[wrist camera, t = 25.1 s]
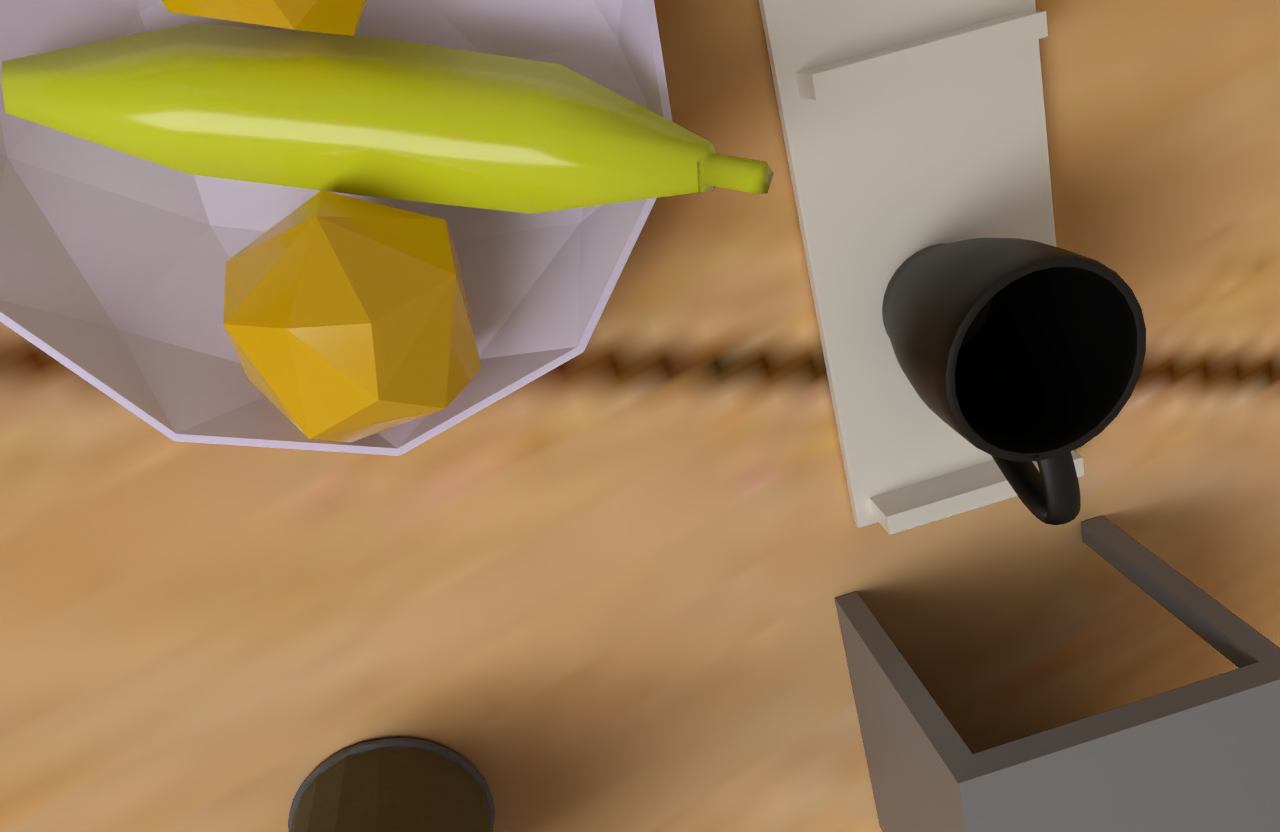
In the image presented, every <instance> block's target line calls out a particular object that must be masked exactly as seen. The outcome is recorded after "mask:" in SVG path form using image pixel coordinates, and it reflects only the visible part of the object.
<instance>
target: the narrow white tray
mask: <svg viewBox="0 0 1280 832" xmlns="http://www.w3.org/2000/svg"><path fill="white" fill-rule="evenodd" d="M759 6H760V11H761V16H762V22H763V27H764V33H765V38H766V44H767V49H768V55H769V60H770V65H771V71H772V76H773V82H774V87H775V93H776V98H777V104H778V109H779V114H780V120H781V125H782V131H783V136H784V142H785V147H786V153H787V158H788V163H789V169H790V174H791V180H792V185H793V191H794V196H795V202H796V207H797V212H798V218H799V223H800V229H801V234H802V240H803V245H804V251H805V256H806V261H807V267H808V272H809V278H810V283H811V289H812V294H813V300H814V305H815V311H816V316H817V321H818V327H819V332H820V338H821V343H822V349H823V354H824V360H825V365H826V370H827V376H828V381H829V387H830V392H831V398H832V403H833V409H834V414H835V419H836V425H837V430H838V436H839V441H840V447H841V452H842V458H843V463H844V468H845V474H846V479H847V485H848V490H849V496H850V501H851V507H852V512H853V517H854V523H855V524H856V525H857V527H858V528H861V527H864V526H867V525H871V524H874V523H877V522H879V523H880V524H881V525H882V527H883V528H884V529H885V530H886V531H887V532H888V534H889V535H891V534H894V533H898V532H901V531H904V530H908V529H911V528H914V527H917V526H921V525H924V524H927V523H930V522H934V521H937V520H940V519H944V518H947V517H950V516H953V515H957V514H960V513H963V512H966V511H970V510H973V509H976V508H980V507H983V506H986V505H989V504H993V503H996V502H999V501H1002V500H1006V499H1009V498H1012V497H1016V496H1018V495H1017V494H1016V492H1015V491H1014V490H1013V488H1012V487H1011V485H1010V484H1009V482H1008V481H1007V479H1006V478H1005V476H1004V475H1003V473H1002V472H1001V470H1000V469H999V467H998V465H997V464H996V462H995V461H994V459H993V458H992V456H991V455H990V454H988V453H986V452H984V451H982V450H980V449H978V448H976V447H975V446H974V445H972V444H971V443H970V442H968V441H967V440H966V439H965V438H963V437H962V436H961V435H960V434H958V433H957V432H956V431H955V430H953V429H952V428H951V427H950V426H949V425H948V424H946V423H945V422H944V421H943V420H942V419H941V418H939V417H938V416H937V415H936V414H935V413H934V412H933V411H932V410H931V409H929V408H928V406H927V405H926V404H925V403H924V402H923V400H922V399H921V398H920V397H919V395H918V394H917V392H916V391H915V389H914V388H913V386H912V385H911V383H910V382H909V380H908V378H907V377H906V375H905V374H904V372H903V371H902V369H901V367H900V365H899V363H898V361H897V358H896V355H895V353H894V350H893V347H892V344H891V341H890V338H889V336H888V335H887V333H886V330H885V327H884V324H883V316H882V305H883V298H884V294H885V291H886V288H887V286H888V283H889V281H890V280H891V278H892V276H893V275H894V273H895V271H896V270H897V269H898V268H899V267H900V266H901V265H902V263H903V262H904V261H905V260H906V259H908V258H909V257H911V256H912V255H913V254H915V253H916V252H918V251H920V250H922V249H924V248H927V247H929V246H933V245H938V244H948V243H953V242H957V241H962V240H968V239H974V238H1018V239H1026V240H1033V241H1037V242H1041V243H1044V244H1048V245H1051V246H1055V247H1056V236H1055V224H1054V213H1053V201H1052V189H1051V178H1050V166H1049V155H1048V143H1047V131H1046V120H1045V108H1044V96H1043V85H1042V73H1041V61H1040V50H1039V39H1041V38H1045V37H1048V30H1047V18H1046V11H1036V3H1035V0H759ZM1071 454H1072V457H1073V461H1074V465H1075V469H1076V473H1077V478H1078V477H1081V476H1084V467H1083V457H1081V456H1080V455H1079V454H1077V453H1076V452H1074V450H1072V451H1071ZM1032 462H1033V463H1034V465H1035V466H1036V467H1037V469H1038V470H1039V468H1038V464H1037V461H1032ZM1039 472H1040V471H1039Z"/></svg>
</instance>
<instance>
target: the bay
mask: <svg viewBox="0 0 1280 832" xmlns="http://www.w3.org/2000/svg"><path fill="white" fill-rule="evenodd" d="M1081 526H1082V538H1083V542H1084V543H1085V544H1087V545H1088V546H1089V547H1090V548H1092V549H1093V550H1094V551H1095V552H1097V553H1098V554H1099V555H1100V556H1102V557H1103V558H1104V559H1105V560H1106V561H1108V562H1109V563H1110V564H1111V565H1113V566H1114V567H1115V568H1116V569H1118V570H1119V571H1120V572H1121V573H1122V574H1124V575H1125V576H1126V577H1127V578H1129V579H1130V580H1131V581H1132V582H1134V583H1135V584H1136V585H1137V586H1139V587H1140V588H1141V589H1142V590H1143V591H1145V592H1146V593H1147V594H1148V595H1150V596H1151V597H1152V598H1153V599H1155V600H1156V601H1157V602H1158V603H1160V604H1161V605H1162V606H1163V607H1164V608H1166V609H1167V610H1168V611H1169V612H1171V613H1172V614H1173V615H1174V616H1176V617H1177V618H1178V619H1179V620H1180V621H1182V622H1183V623H1184V624H1185V625H1187V626H1188V627H1189V628H1190V629H1192V630H1193V631H1194V632H1195V633H1197V634H1198V635H1199V636H1200V637H1201V638H1203V639H1204V640H1205V641H1206V642H1208V643H1209V644H1210V645H1211V646H1213V647H1214V648H1215V649H1216V650H1217V651H1219V652H1220V653H1221V654H1222V655H1224V656H1225V657H1226V658H1227V659H1229V660H1230V661H1231V662H1232V663H1234V664H1235V665H1236V666H1237V667H1238V668H1239V669H1236V670H1233V671H1230V672H1226V673H1223V674H1220V675H1217V676H1214V677H1211V678H1208V679H1205V680H1202V681H1199V682H1195V683H1192V684H1189V685H1186V686H1183V687H1180V688H1177V689H1174V690H1171V691H1168V692H1164V693H1161V694H1158V695H1155V696H1152V697H1149V698H1146V699H1143V700H1140V701H1136V702H1133V703H1130V704H1127V705H1124V706H1121V707H1118V708H1115V709H1112V710H1109V711H1105V712H1102V713H1099V714H1096V715H1093V716H1090V717H1087V718H1084V719H1081V720H1078V721H1074V722H1071V723H1068V724H1065V725H1062V726H1059V727H1056V728H1053V729H1050V730H1046V731H1043V732H1040V733H1037V734H1034V735H1031V736H1028V737H1025V738H1022V739H1019V740H1015V741H1012V742H1009V743H1006V744H1003V745H1000V746H997V747H994V748H991V749H988V750H984V751H981V752H978V753H975V754H972V753H971V751H970V750H969V748H968V747H967V746H966V744H965V743H964V741H963V740H962V739H961V737H960V736H959V734H958V733H957V732H956V730H955V729H954V727H953V726H952V725H951V723H950V722H949V720H948V719H947V718H946V716H945V715H944V713H943V712H942V711H941V709H940V708H939V706H938V705H937V704H936V702H935V701H934V699H933V698H932V697H931V695H930V694H929V692H928V691H927V690H926V688H925V687H924V685H923V684H922V683H921V681H920V680H919V678H918V677H917V676H916V674H915V673H914V671H913V670H912V669H911V667H910V666H909V664H908V663H907V662H906V660H905V659H904V657H903V656H902V655H901V653H900V652H899V650H898V649H897V648H896V646H895V645H894V643H893V642H892V641H891V639H890V638H889V636H888V635H887V634H886V632H885V631H884V629H883V628H882V627H881V625H880V624H879V622H878V621H877V620H876V618H875V617H874V615H873V614H872V613H871V611H870V610H869V608H868V607H867V606H866V604H865V603H864V601H863V600H862V599H861V597H860V596H859V594H858V593H857V592H853V593H850V594H847V595H843V596H840V597H837V598H835V602H836V607H837V612H838V617H839V622H840V627H841V632H842V637H843V642H844V647H845V653H846V658H847V663H848V668H849V673H850V678H851V683H852V688H853V693H854V698H855V703H856V708H857V713H858V718H859V723H860V728H861V733H862V738H863V743H864V748H865V753H866V758H867V763H868V768H869V773H870V778H871V783H872V788H873V793H874V799H875V804H876V809H877V814H878V819H879V824H880V827H881V829H882V831H883V832H1280V648H1279V647H1278V646H1276V645H1275V644H1274V643H1272V642H1271V641H1270V640H1268V639H1267V638H1266V637H1264V636H1263V635H1262V634H1260V633H1259V632H1258V631H1256V630H1255V629H1254V628H1252V627H1251V626H1250V625H1248V624H1247V623H1246V622H1244V621H1243V620H1242V619H1240V618H1239V617H1237V616H1236V615H1235V614H1233V613H1232V612H1231V611H1229V610H1228V609H1227V608H1225V607H1224V606H1223V605H1221V604H1220V603H1219V602H1217V601H1216V600H1215V599H1213V598H1212V597H1211V596H1209V595H1208V594H1207V593H1205V592H1204V591H1203V590H1201V589H1200V588H1199V587H1197V586H1196V585H1195V584H1193V583H1192V582H1191V581H1189V580H1188V579H1187V578H1185V577H1184V576H1183V575H1181V574H1180V573H1179V572H1177V571H1176V570H1174V569H1173V568H1172V567H1170V566H1169V565H1168V564H1166V563H1165V562H1164V561H1162V560H1161V559H1160V558H1158V557H1157V556H1156V555H1154V554H1153V553H1152V552H1150V551H1149V550H1148V549H1146V548H1145V547H1144V546H1142V545H1141V544H1140V543H1138V542H1137V541H1136V540H1134V539H1133V538H1132V537H1130V536H1129V535H1128V534H1126V533H1125V532H1124V531H1122V530H1121V529H1120V528H1118V527H1117V526H1115V525H1114V524H1113V523H1111V522H1110V521H1109V520H1107V519H1106V518H1105V517H1103V516H1099V517H1096V518H1093V519H1090V520H1086V521H1083V522H1081Z"/></svg>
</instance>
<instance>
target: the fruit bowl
mask: <svg viewBox="0 0 1280 832" xmlns="http://www.w3.org/2000/svg"><path fill="white" fill-rule="evenodd" d="M772 176H773V173H772V171H771V169H770V167H769V165H768V163H767V162H764V161H758V160H752V159H746V158H740V157H733V156H727V155H721V154H718V153H717V151H716V149H715V147H714V145H713V143H712V142H711V141H709V140H707V139H705V138H703V137H701V136H699V135H697V134H695V133H693V132H691V131H689V130H687V129H685V128H683V127H681V126H680V125H678V124H676V123H674V122H673V121H672V114H671V108H670V101H669V95H668V89H667V82H666V76H665V69H664V63H663V56H662V50H661V44H660V37H659V31H658V24H657V18H656V11H655V5H654V0H0V322H2V323H3V324H5V325H6V326H8V327H9V328H11V329H12V330H13V331H15V332H16V333H18V334H19V335H21V336H22V337H24V338H25V339H26V340H28V341H29V342H31V343H32V344H34V345H35V346H37V347H38V348H40V349H41V350H42V351H44V352H45V353H47V354H48V355H50V356H51V357H53V358H54V359H55V360H57V361H58V362H60V363H61V364H63V365H64V366H66V367H67V368H68V369H70V370H71V371H73V372H74V373H76V374H77V375H79V376H80V377H82V378H83V379H84V380H86V381H87V382H89V383H90V384H92V385H93V386H95V387H96V388H97V389H99V390H100V391H102V392H103V393H105V394H106V395H108V396H109V397H110V398H112V399H113V400H115V401H116V402H118V403H119V404H121V405H122V406H124V407H125V408H126V409H128V410H129V411H131V412H132V413H134V414H135V415H137V416H138V417H139V418H141V419H142V420H144V421H145V422H147V423H148V424H150V425H151V426H152V427H154V428H155V429H157V430H158V431H160V432H161V433H163V434H164V435H166V436H167V437H168V438H170V439H171V440H173V441H178V442H194V443H209V444H224V445H240V446H255V447H271V448H286V449H301V450H317V451H332V452H347V453H363V454H378V455H394V456H400V455H402V454H404V453H406V452H407V451H409V450H411V449H413V448H415V447H416V446H418V445H420V444H422V443H423V442H425V441H427V440H429V439H430V438H432V437H434V436H436V435H438V434H439V433H441V432H443V431H445V430H446V429H448V428H450V427H452V426H453V425H455V424H457V423H459V422H461V421H462V420H464V419H466V418H468V417H469V416H471V415H473V414H475V413H476V412H478V411H480V410H482V409H484V408H485V407H487V406H489V405H491V404H492V403H494V402H496V401H498V400H499V399H501V398H503V397H505V396H507V395H508V394H510V393H512V392H514V391H515V390H517V389H519V388H521V387H522V386H524V385H526V384H528V383H530V382H531V381H533V380H535V379H537V378H538V377H540V376H542V375H544V374H545V373H547V372H549V371H551V370H553V369H554V368H556V367H558V366H560V365H561V364H563V363H565V362H567V361H568V360H570V359H572V358H574V357H576V356H577V355H579V354H581V353H583V352H584V350H585V348H586V346H587V344H588V342H589V340H590V338H591V335H592V333H593V331H594V329H595V327H596V325H597V323H598V321H599V319H600V317H601V314H602V312H603V310H604V308H605V306H606V304H607V302H608V300H609V298H610V295H611V293H612V291H613V289H614V287H615V285H616V283H617V281H618V279H619V277H620V274H621V272H622V270H623V268H624V266H625V264H626V262H627V260H628V258H629V256H630V253H631V251H632V249H633V247H634V245H635V243H636V241H637V239H638V237H639V234H640V232H641V230H642V228H643V226H644V224H645V222H646V220H647V218H648V216H649V213H650V211H651V209H652V207H653V205H654V203H655V201H656V199H657V198H659V197H667V196H675V195H682V194H690V193H698V192H708V191H713V190H714V187H715V186H717V187H722V188H727V189H733V190H738V191H744V192H749V193H755V194H763V193H767V192H768V189H769V186H770V183H771V179H772Z"/></svg>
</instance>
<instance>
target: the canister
mask: <svg viewBox="0 0 1280 832" xmlns="http://www.w3.org/2000/svg"><path fill="white" fill-rule="evenodd" d="M493 823H494V807H493V801H492V797H491V794H490V792H489V789H488V787H487V785H486V782H485V780H484V778H483V777H482V776H481V775H480V773H479V772H478V771H477V770H476V769H475V768H474V766H473V765H472V764H471V763H469V762H468V761H467V760H466V759H465V758H464V757H463V756H461V755H459V754H457V753H456V752H454V751H452V750H450V749H448V748H446V747H443V746H440V745H438V744H435V743H432V742H429V741H426V740H420V739H412V738H404V737H402V738H390V739H381V740H375V741H368V742H362V743H359V744H356V745H354V746H351V747H349V748H346V749H344V750H341V751H339V752H338V753H336V754H334V755H333V756H331V757H329V758H328V759H327V760H325V761H324V762H323V763H321V764H320V765H319V766H318V767H316V768H315V769H314V771H313V772H312V773H311V774H310V775H309V776H308V777H307V778H306V780H305V781H304V782H303V783H302V784H301V786H300V788H299V789H298V791H297V793H296V795H295V797H294V799H293V802H292V806H291V809H290V814H289V821H288V828H289V832H492V831H493Z"/></svg>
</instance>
